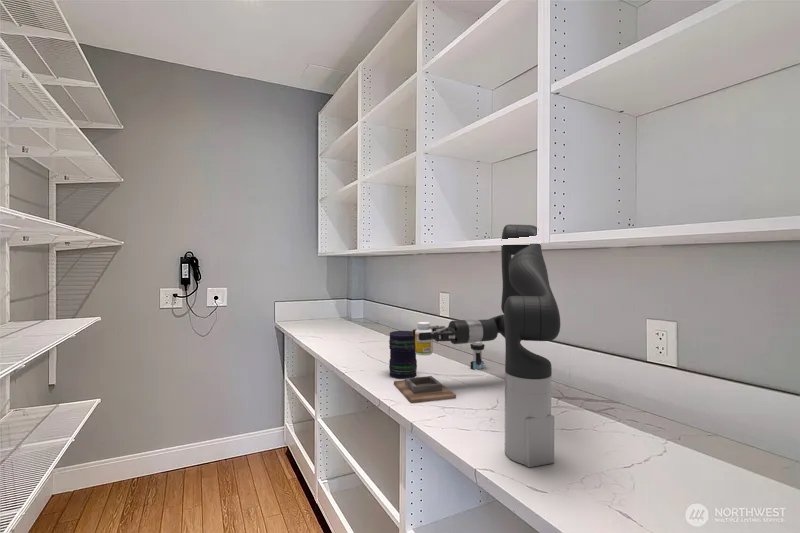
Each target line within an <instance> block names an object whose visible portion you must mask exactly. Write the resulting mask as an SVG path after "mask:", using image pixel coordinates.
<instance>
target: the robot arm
mask: <svg viewBox="0 0 800 533" xmlns="http://www.w3.org/2000/svg"><path fill="white" fill-rule="evenodd" d="M537 228H538V227H537V226H535V225H531V224H506V225H504V227H503V230H502V232H501V233H502V234H501V240H502V239H508V238H519V237H529V236H536V235H537ZM500 249H501V251H500V252H501V276H502V277H501V278H502V291H501V292H502V295H501V302H500V303H501V305H500V307H501V311H502V313H503V314H499V315H497V316H493V317H491V318H488V319H457V320H455V319H454V320H451V321H450V322H448V325H447V326H445V325H440V326H439V325H432V326H431V325H430V328H429V329H431V330H432V332H425V333H419V340H432V342H433V341H434V342H437V343H438V342H451V344H453V345H463V344H465V345H466V344H472V343H475V342H490V341H494V340H496V339H497V337H498V335H499V334H500V335H501V336H502V337H503V338H504V340H505V360H504V454H505V455H506V457H507V458H508V459H510V460H512V461H513V462H515V463H518V464H522V465H524V466H526V467H527V468H532V467H537V466H544V465H548V464H549V465H550V464H554V463H555V416H554V415H553V414H552V381H553V380H552V373H553V369H552V362H551V361H550V359H548V358H546V357H544V356H542V355H540V354H536V353H534V352H532V351H530V350H528V349H527V348H525V347H524V346H523V344H522V343H521V341H525V342H526V341H528V342H529V341H530V342H549V341H553V340H555V339H557V338H558V336H559V333H560V332H561V315H560V310H559V307H558V304H557V300H556V298H555V296H554V293H553V291H552V288H551V285H550V280H549V274H548V269H547V265H546V262H545V259H544V256H543V252H542V244H541V245H540V244H530V245H503V246H501V248H500ZM417 329H418V328H417ZM417 329H416V328H415V329H412V330H411V331H412V335H413V336H414V337H415V331H416V330H417Z"/></svg>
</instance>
